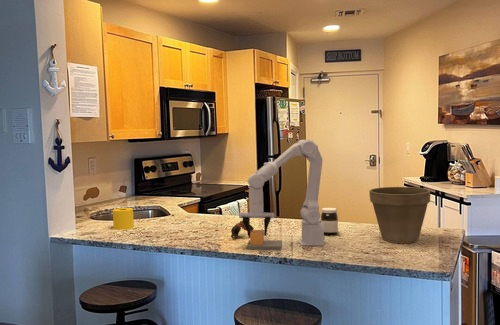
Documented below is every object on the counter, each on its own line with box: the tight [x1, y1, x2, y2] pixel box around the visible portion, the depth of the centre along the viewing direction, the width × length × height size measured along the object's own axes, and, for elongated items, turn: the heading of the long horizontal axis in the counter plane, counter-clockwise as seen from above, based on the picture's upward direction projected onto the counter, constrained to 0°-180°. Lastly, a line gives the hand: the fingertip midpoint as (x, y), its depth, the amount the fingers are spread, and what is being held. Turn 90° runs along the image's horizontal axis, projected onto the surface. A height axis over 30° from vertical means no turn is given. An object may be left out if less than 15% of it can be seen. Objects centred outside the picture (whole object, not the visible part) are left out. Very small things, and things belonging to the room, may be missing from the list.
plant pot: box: [368, 186, 431, 244], centre depth 196 cm, size 25×25×22 cm
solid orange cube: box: [249, 229, 265, 245], centre depth 190 cm, size 5×5×5 cm
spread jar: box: [319, 207, 339, 237], centre depth 211 cm, size 12×11×12 cm
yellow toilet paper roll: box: [112, 207, 135, 231], centre depth 234 cm, size 10×10×9 cm
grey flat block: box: [245, 239, 283, 251], centre depth 190 cm, size 14×10×5 cm
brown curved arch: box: [230, 220, 255, 239], centre depth 207 cm, size 12×10×8 cm
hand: (257, 235), depth 190 cm, fingers open, 6 cm apart
